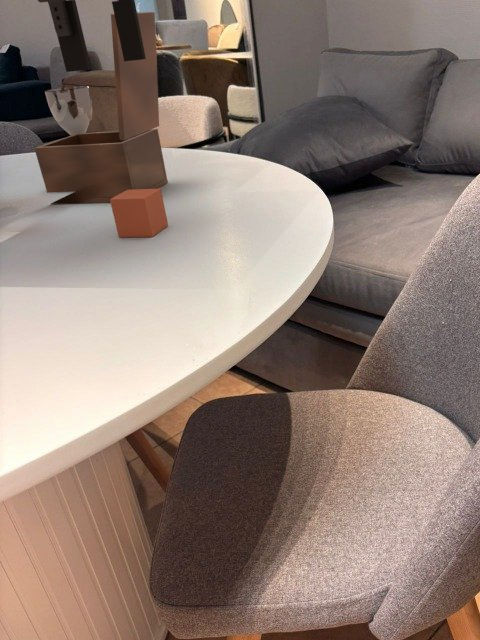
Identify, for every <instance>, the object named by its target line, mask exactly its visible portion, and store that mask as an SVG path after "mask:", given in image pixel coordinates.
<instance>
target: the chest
mask: <svg viewBox="0 0 480 640" xmlns="http://www.w3.org/2000/svg"><path fill="white" fill-rule="evenodd" d="M33 149H34V152H35V155H36V160H37V162H38V166H39V169H40V173H41V177H42V180H43V183H44V187H45V190H46V193H47V194H48V193H69V194H67V195H65V196H63V197H61V198H59V199H56V200H54V201H52V202H50V205H66V204H67V205H68V204H69V205H70V204H71V205H73V204H103V203H104V204H105V203H107V204H108V203H110V199H112V198H113V197H115V196H117V195H119V194H121V193H123V192H124V191H126V190H133V189H160V188H161V187H163V186H164V185H166V184H168V183H169V181H168V176H167V170H166V166H165V160H164V155H163V150H162V145H161V140H160V134H159V129H158V128H153V129H151V130H148V131H146V132H143V133H141V134H138V135H136V136H134V137H131V138H129V139H126V140H120V138H119V130H116V131H115V130H113V131H100V132H99V131H98V132H97V131H96V132H86V133H79V134H74V135H68V136H66V137H62V138H60V139H56V140H53V141H51V142H48V143H45V144H42V145H39V146H36V147H34V148H33ZM110 204H111V203H110Z"/></svg>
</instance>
